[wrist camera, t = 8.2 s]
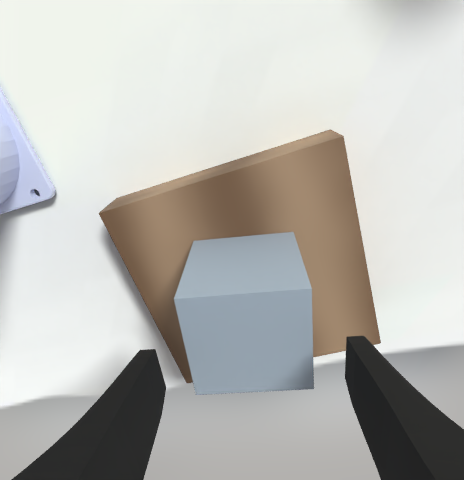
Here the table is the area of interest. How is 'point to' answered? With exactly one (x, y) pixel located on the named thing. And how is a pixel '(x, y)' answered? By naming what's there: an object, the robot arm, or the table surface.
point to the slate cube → (247, 315)
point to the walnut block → (254, 233)
